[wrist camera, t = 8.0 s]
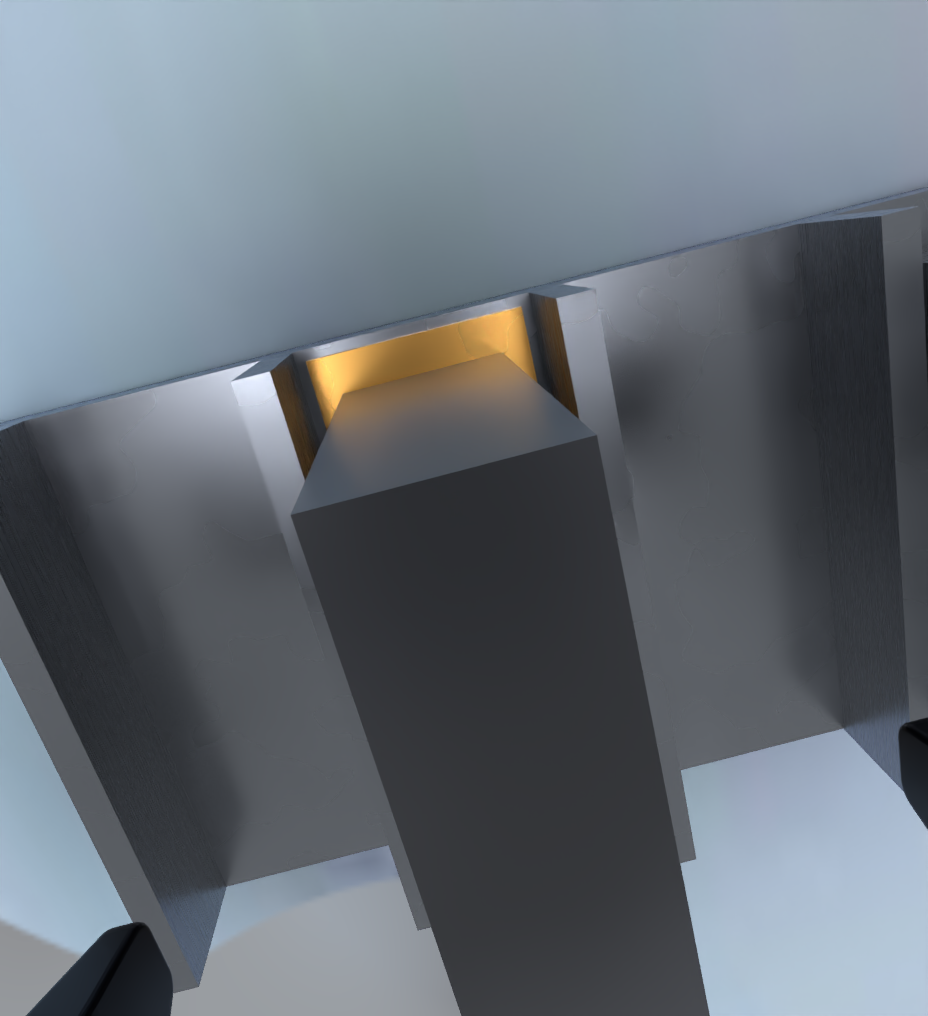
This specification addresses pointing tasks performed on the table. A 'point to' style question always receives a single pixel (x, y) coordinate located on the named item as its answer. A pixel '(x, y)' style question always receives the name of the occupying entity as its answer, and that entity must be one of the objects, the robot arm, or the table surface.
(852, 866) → the table surface
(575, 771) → the blanking panel
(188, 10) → the table surface
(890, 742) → the rack
